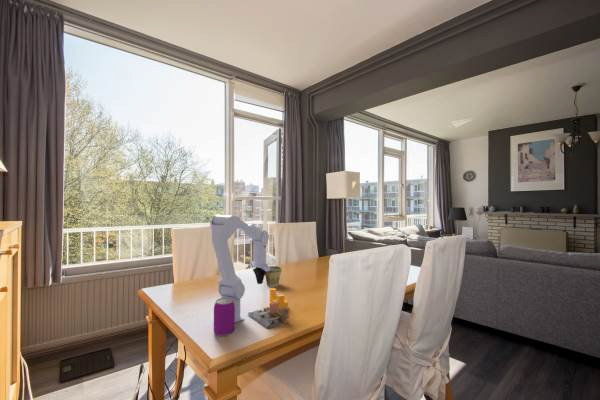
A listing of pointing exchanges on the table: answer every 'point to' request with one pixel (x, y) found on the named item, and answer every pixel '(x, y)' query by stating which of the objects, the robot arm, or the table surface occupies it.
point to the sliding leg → (272, 308)
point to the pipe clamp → (278, 298)
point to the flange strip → (263, 319)
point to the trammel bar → (279, 314)
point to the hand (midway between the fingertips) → (259, 283)
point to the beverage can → (224, 316)
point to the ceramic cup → (273, 276)
